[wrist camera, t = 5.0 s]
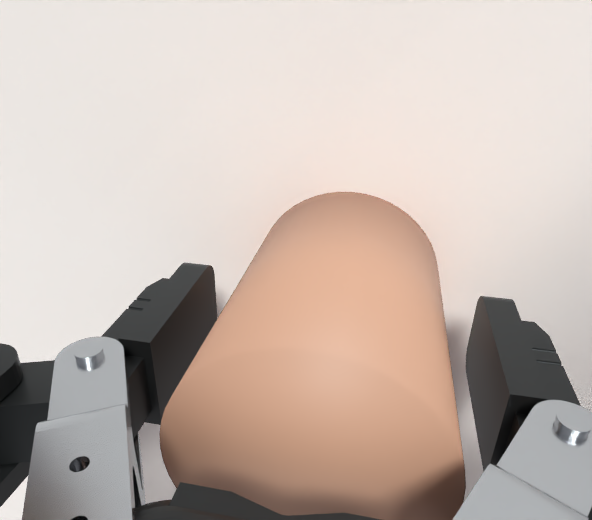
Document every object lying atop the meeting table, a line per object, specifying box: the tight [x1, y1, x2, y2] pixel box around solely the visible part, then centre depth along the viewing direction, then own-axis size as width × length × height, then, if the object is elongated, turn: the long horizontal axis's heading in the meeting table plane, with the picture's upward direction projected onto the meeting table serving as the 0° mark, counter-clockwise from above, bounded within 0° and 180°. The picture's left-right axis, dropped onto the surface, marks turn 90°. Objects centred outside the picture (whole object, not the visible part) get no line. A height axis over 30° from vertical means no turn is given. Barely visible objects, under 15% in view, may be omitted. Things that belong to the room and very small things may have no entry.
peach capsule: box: [160, 192, 466, 520], centre depth 11 cm, size 5×5×7 cm
